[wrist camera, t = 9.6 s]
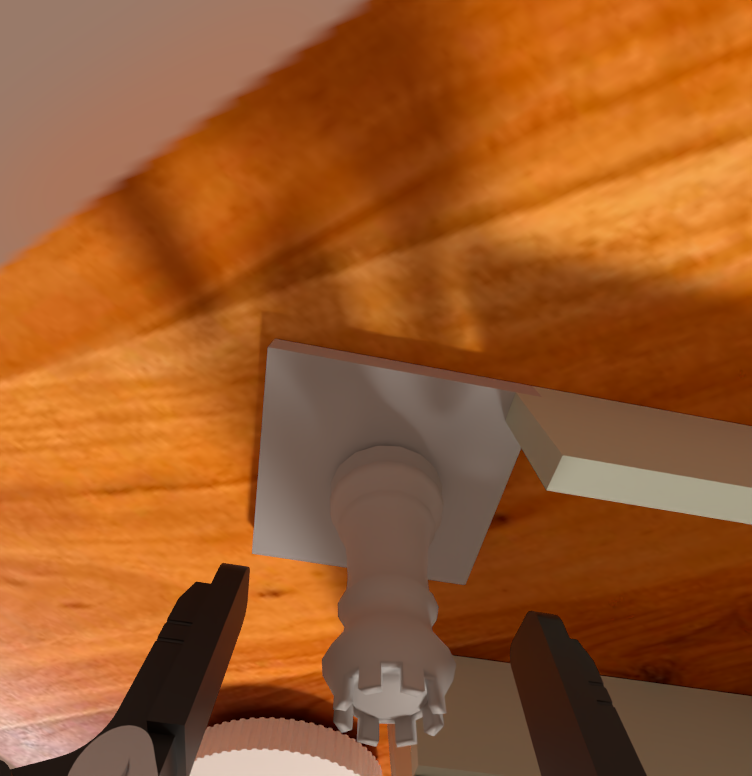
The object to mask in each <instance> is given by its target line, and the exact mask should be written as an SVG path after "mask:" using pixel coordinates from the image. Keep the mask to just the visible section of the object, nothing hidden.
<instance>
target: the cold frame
mask: <svg viewBox="0 0 752 776" xmlns="http://www.w3.org/2000/svg"><path fill="white" fill-rule="evenodd" d="M533 387H534V388H535V390H536V391H537V392H538V393H539V394H540V395H541V396H542V397H539V396H533V395H528V394H522V393H517V392H516V393H515V396H514V398H513V401H512V404H511V406H510V409H509V412H508V414H507V417H506V420H505V421H506V423H507V425H508V426H509V428H510V430H511V432H512V433H513V435H514V437H515V438H516V440H517V442H518V443H519V445H520V447H521V448H522V450H523V452H524V453H525V455H526V457H527V459H528V460H529V462H530V464H531V465H532V467H533V469H534V470H535V472H536V474H537V475H538V477H539V479H540V480H541V482H542V484H543V485H544V487H545V489H546V490H547V491H553V492H559V493H565V494H571V495H577V496H583V497H589V498H595V499H601V500H607V501H613V502H619V503H625V504H631V505H637V506H643V507H649V508H655V509H661V510H667V511H673V512H679V513H685V514H691V515H697V516H703V517H709V518H715V519H721V520H727V521H733V522H739V523H745V524H751V525H752V426H748V425H742V424H737V423H731V422H726V421H720V420H715V419H709V418H704V417H699V416H693V415H688V414H682V413H677V412H671V411H666V410H661V409H655V408H650V407H644V406H639V405H633V404H628V403H622V402H617V401H612V400H606V399H601V398H595V397H590V396H584V395H579V394H574V393H568V392H563V391H557V390H552V389H546V388H541V387H535V386H533ZM452 656H453V658H454V660H455V663H456V669H455V674H454V679H453V682H452V684H451V685H450V687H449V689H448V691H447V693H446V694H445V696H444V697H445V705H446V713H445V714H443V720H444V727H443V728H442V729H441V730H440V731H439V732H438V733H437V734H436V735H435V736H431V735H429V734H427V733H424V728H423V717H422V718H420V719H418V720H416V732H417V744H415V745H411V750H410V745H409V746H404V747H398V748H397V745H396V741H395V724H388V726H387V727H388V739H389V751H390V764H391V776H541V773H540V769H539V766H538V762H537V758H536V755H535V751H534V748H533V744H532V740H531V737H530V733H529V730H528V726H527V722H526V719H525V715H524V712H523V708H522V704H521V701H520V697H519V694H518V690H517V686H516V683H515V679H514V676H513V672H512V668H511V663H505V662H498V661H490V660H483V659H476V658H468V657H461V656H454V655H452ZM601 678H602V680H603V683H604V684H603V685H604V687H605V688H606V689H607V691H608V693H609V695H610V698H611V700H612V705H613V707H615V708H616V710H617V713H618V715H619V717H620V719H621V721H622V723H623V725H624V728H625V730H626V732H627V734H628V736H629V738H630V740H631V743H632V745H633V747H634V749H635V751H636V753H637V755H638V758H639V760H640V762H641V764H642V766H643V768H644V770H645V773H646V775H647V776H752V696H747V695H740V694H733V693H725V692H718V691H710V690H703V689H696V688H688V687H681V686H674V685H666V684H659V683H652V682H644V681H637V680H630V679H622V678H615V677H608V676H601Z"/></svg>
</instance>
